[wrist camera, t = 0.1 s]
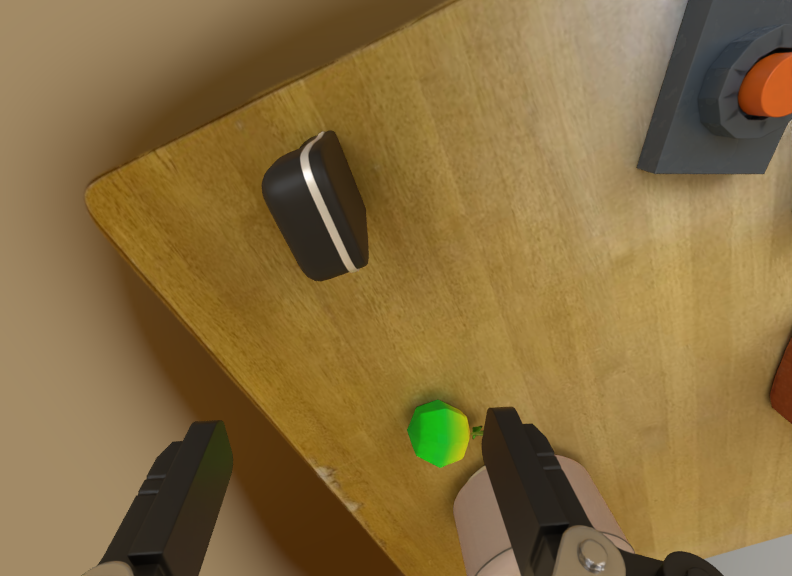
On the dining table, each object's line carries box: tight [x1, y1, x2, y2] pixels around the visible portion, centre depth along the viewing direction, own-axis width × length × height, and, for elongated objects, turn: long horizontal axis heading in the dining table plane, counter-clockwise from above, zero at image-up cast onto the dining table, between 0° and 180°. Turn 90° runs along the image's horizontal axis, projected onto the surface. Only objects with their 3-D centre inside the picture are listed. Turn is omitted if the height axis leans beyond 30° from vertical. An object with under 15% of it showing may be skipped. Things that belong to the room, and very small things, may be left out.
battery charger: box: [262, 130, 369, 281], centre depth 24 cm, size 7×4×11 cm, turn 19°
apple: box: [407, 400, 483, 468], centre depth 40 cm, size 7×6×9 cm
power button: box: [738, 52, 792, 117], centre depth 24 cm, size 4×4×2 cm
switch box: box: [637, 0, 792, 174], centre depth 26 cm, size 12×9×4 cm
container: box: [453, 455, 635, 576], centre depth 45 cm, size 18×18×12 cm
